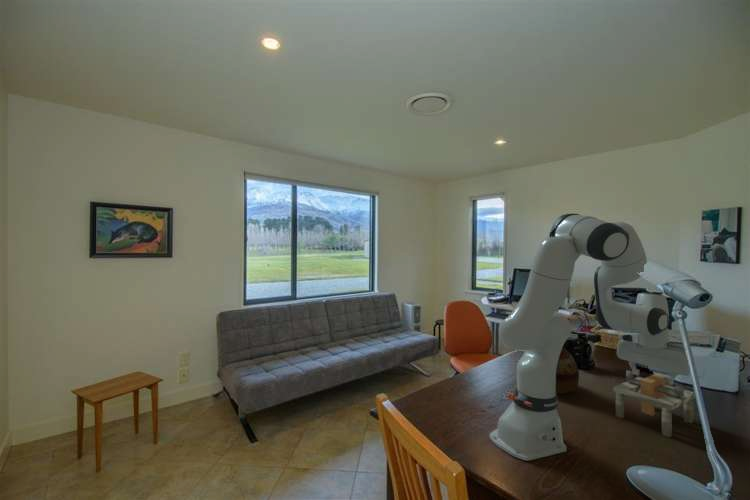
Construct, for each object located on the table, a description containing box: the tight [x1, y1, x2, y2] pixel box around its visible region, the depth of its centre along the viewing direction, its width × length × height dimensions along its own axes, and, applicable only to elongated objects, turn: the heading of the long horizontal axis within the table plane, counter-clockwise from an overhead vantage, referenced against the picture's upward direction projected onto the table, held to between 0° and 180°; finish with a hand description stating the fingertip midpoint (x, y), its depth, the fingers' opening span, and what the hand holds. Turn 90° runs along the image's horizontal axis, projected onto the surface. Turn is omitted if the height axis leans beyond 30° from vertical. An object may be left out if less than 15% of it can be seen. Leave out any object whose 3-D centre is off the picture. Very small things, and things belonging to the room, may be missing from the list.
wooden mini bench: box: [640, 373, 667, 417], centre depth 111 cm, size 10×3×11 cm, turn 118°
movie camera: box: [563, 329, 603, 371], centre depth 168 cm, size 31×18×18 cm, turn 37°
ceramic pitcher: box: [556, 347, 580, 394], centre depth 138 cm, size 20×20×30 cm
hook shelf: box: [613, 370, 696, 438], centre depth 111 cm, size 18×16×14 cm
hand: (652, 379), depth 112 cm, fingers open, 8 cm apart
